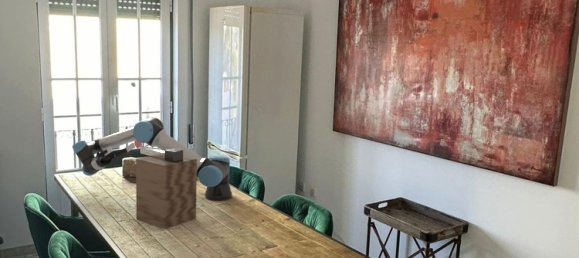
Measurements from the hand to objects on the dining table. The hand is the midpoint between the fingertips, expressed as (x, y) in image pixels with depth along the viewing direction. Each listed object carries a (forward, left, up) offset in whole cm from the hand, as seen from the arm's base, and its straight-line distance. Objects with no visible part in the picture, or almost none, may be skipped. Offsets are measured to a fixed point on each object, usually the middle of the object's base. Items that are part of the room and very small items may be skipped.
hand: (122, 146), depth 255 cm
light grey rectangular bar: (0, +28, -1) cm, 28 cm away
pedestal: (0, +33, -31) cm, 45 cm away
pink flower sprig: (-38, -20, -31) cm, 53 cm away
